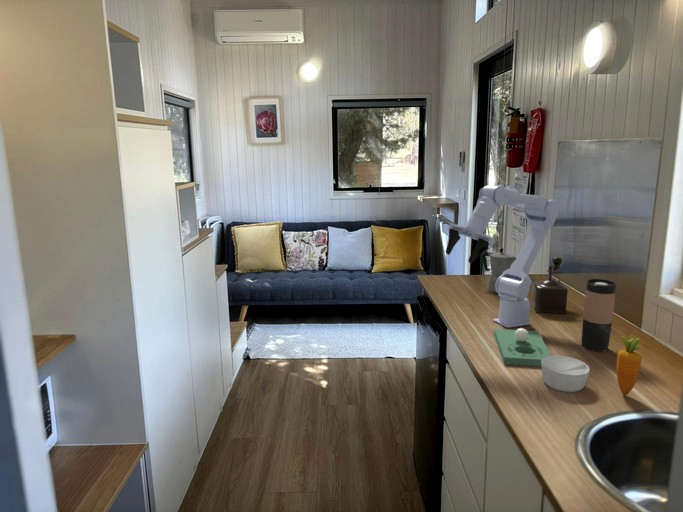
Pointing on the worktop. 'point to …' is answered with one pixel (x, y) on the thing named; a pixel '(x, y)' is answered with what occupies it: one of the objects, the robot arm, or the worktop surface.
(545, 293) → the manual coffee grinder
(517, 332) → the ball
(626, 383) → the carrot
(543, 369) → the ramekin
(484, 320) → the worktop surface
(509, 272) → the robot arm
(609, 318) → the travel mug
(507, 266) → the coffeepot
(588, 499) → the worktop surface
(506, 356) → the putting mat
